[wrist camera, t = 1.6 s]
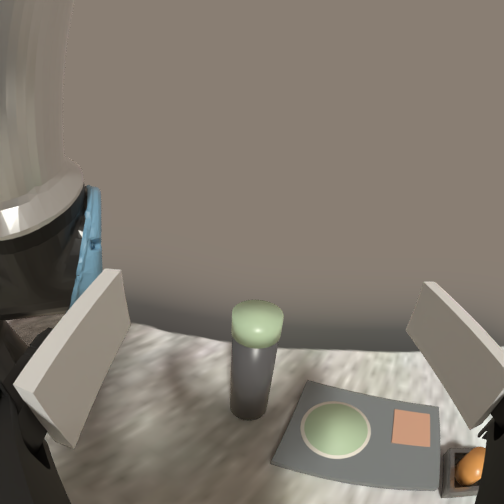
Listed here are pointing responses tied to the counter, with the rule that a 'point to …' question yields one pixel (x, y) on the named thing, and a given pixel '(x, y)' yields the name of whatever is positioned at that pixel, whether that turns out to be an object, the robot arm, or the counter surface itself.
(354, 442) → the board
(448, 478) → the button housing
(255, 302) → the marker
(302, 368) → the counter surface
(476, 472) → the button
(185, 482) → the counter surface
